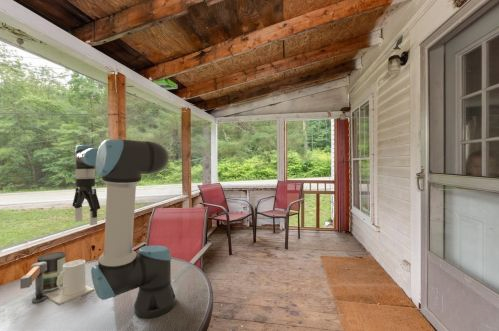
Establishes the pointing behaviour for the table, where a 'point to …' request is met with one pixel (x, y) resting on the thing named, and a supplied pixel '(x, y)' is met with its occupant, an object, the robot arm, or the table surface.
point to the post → (39, 289)
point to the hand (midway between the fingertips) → (86, 223)
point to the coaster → (61, 298)
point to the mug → (73, 277)
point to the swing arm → (32, 274)
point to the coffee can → (52, 269)
